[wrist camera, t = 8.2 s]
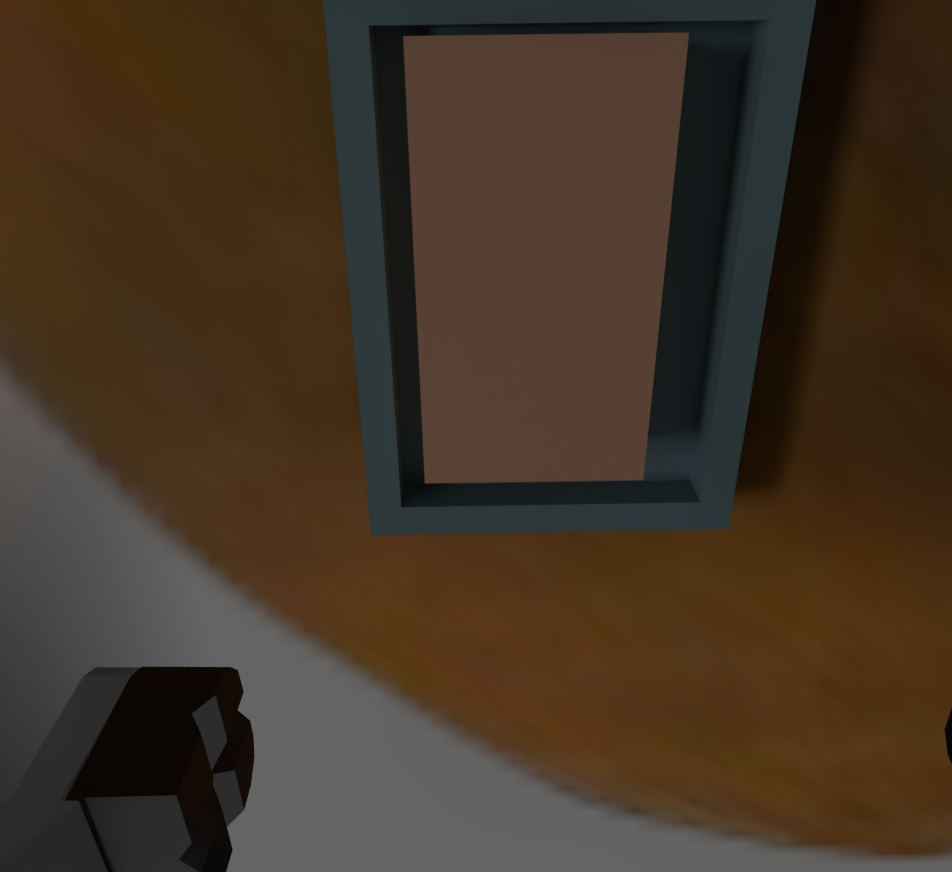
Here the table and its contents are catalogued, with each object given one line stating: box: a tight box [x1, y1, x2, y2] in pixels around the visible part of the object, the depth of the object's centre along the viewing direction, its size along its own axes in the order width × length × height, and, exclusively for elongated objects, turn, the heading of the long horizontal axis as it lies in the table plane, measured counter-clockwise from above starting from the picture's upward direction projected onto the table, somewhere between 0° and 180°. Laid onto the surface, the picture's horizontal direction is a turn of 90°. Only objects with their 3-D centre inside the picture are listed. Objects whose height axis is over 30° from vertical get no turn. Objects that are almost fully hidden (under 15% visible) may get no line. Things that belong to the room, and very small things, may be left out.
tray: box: [323, 0, 816, 535], centre depth 17 cm, size 12×9×2 cm
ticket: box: [403, 32, 689, 483], centre depth 16 cm, size 9×5×2 cm, turn 1°
